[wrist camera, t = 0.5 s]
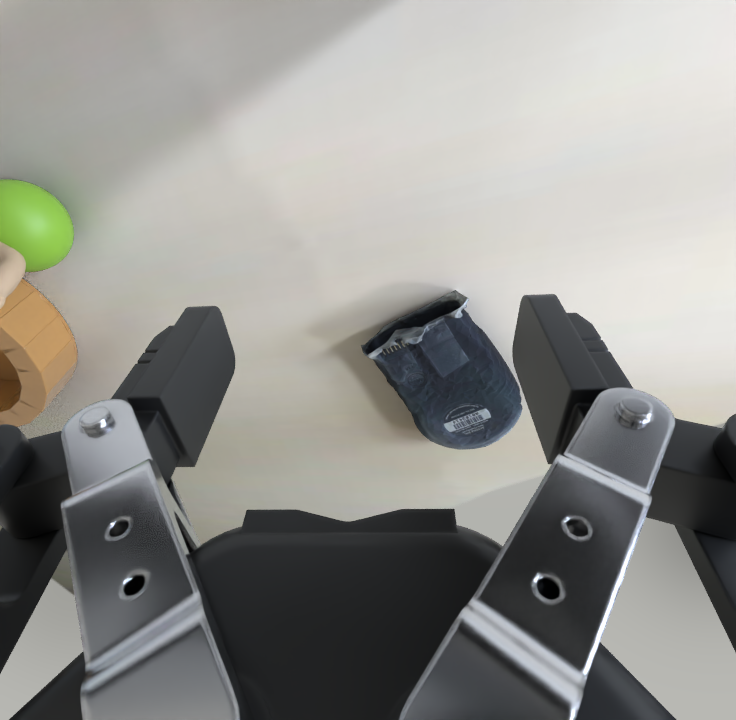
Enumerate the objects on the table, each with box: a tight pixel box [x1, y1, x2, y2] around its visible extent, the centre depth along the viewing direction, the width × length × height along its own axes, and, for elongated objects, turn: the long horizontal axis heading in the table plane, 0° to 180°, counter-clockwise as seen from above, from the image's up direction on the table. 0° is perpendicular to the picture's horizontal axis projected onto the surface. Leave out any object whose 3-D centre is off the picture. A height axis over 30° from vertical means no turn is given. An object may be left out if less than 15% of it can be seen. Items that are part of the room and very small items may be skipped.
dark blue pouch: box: [361, 290, 522, 449], centre depth 36 cm, size 9×6×15 cm
